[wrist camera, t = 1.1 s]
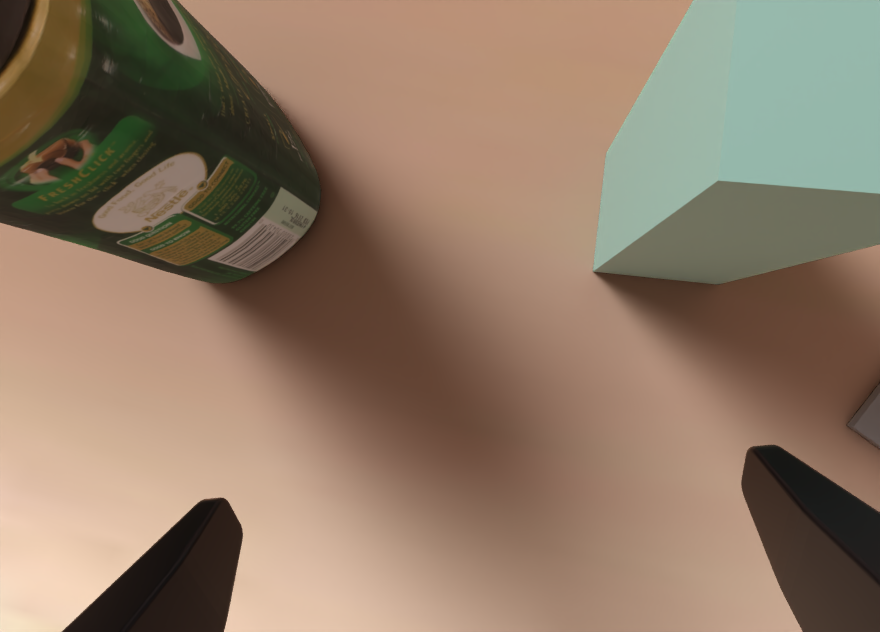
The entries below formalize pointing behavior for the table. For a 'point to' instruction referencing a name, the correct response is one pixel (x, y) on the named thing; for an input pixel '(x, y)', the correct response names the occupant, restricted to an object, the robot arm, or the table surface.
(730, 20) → the teal tall block
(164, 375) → the table surface
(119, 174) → the coffee jar
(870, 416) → the mat
